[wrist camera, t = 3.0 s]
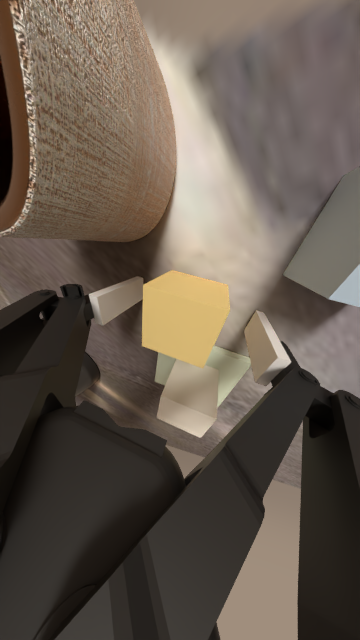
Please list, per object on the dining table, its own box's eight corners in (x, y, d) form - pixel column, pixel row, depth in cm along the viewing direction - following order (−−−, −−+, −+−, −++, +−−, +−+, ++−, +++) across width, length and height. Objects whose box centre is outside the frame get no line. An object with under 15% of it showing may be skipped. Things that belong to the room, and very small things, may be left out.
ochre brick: (165, 316, 17) (141, 345, 12) (172, 269, 14) (143, 284, 9) (209, 330, 16) (203, 368, 11) (227, 284, 13) (230, 310, 8)
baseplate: (157, 376, 25) (136, 417, 19) (163, 328, 18) (135, 368, 12) (218, 401, 23) (216, 454, 17) (250, 358, 16) (264, 420, 10)
